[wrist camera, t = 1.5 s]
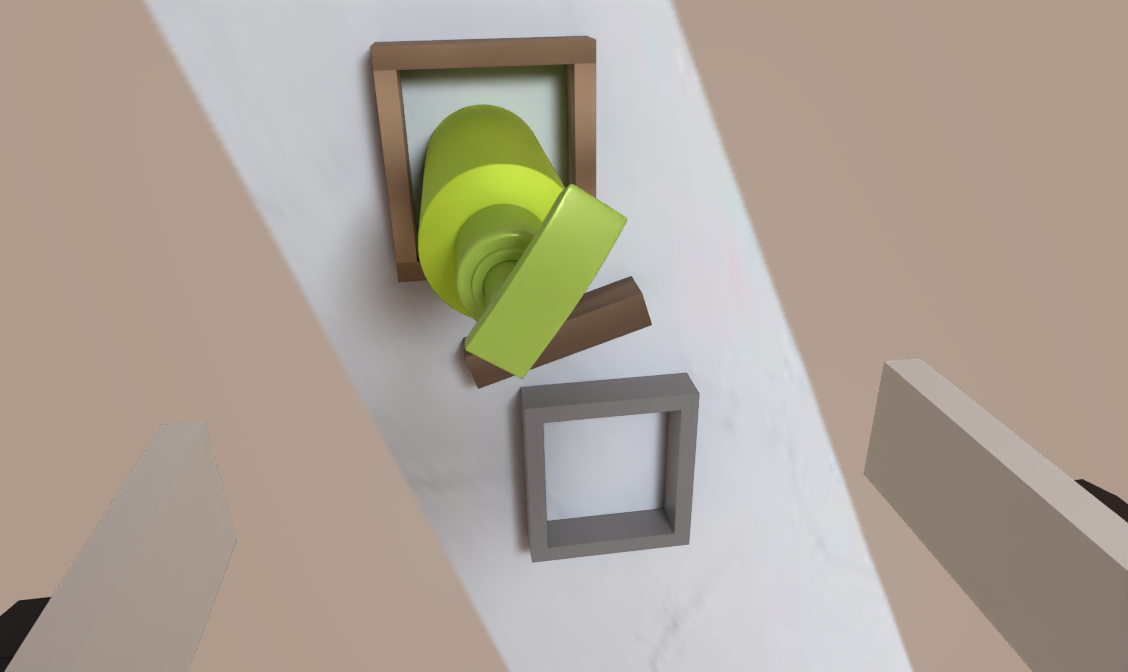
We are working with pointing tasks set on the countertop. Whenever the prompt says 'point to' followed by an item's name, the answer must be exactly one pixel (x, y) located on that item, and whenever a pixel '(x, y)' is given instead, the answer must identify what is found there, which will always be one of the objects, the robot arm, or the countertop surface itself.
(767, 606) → the countertop surface
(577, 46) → the walnut holder
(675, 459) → the keeper frame
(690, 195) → the countertop surface
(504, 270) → the soap dispenser
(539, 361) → the door edge rail
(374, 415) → the countertop surface
